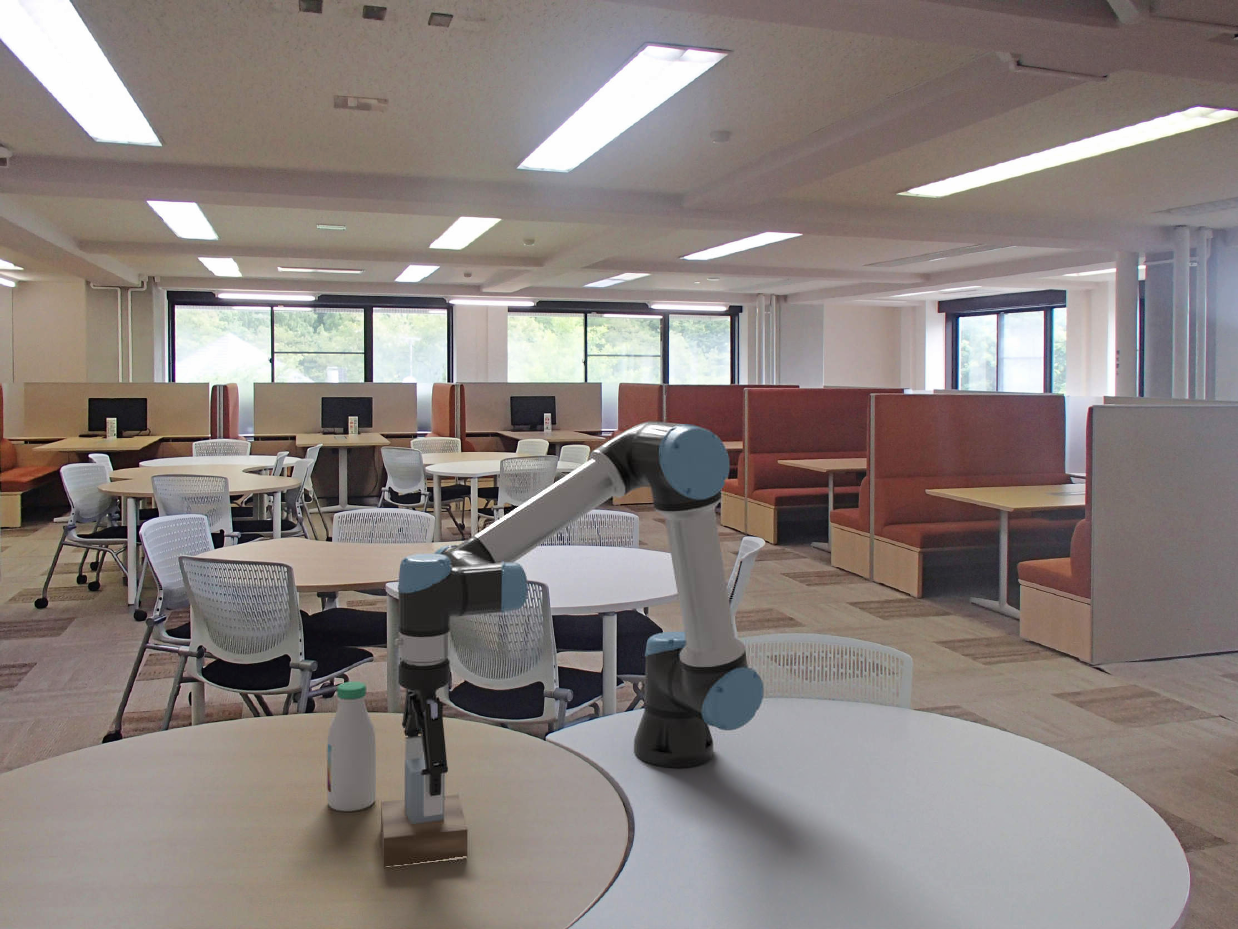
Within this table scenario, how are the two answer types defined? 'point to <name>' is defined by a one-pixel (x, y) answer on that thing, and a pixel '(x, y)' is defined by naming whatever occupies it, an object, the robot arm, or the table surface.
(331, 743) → the milk bottle
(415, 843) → the walnut box
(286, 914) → the table surface
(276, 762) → the table surface
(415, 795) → the block
